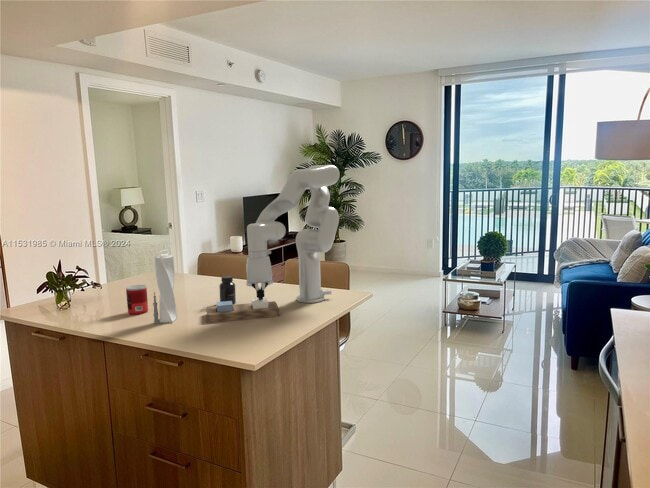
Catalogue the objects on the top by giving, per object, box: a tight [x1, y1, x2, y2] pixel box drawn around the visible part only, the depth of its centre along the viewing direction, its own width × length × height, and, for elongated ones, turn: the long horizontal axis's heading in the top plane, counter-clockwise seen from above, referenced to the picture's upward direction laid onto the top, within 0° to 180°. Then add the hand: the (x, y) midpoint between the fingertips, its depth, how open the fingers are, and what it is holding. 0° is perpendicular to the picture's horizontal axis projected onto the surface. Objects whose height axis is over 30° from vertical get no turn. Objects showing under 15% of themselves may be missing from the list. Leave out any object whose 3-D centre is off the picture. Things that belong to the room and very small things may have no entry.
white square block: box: [251, 297, 269, 309], centre depth 193 cm, size 6×6×3 cm
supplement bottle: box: [218, 275, 237, 305], centre depth 209 cm, size 7×7×12 cm
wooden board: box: [206, 301, 281, 324], centre depth 192 cm, size 28×12×3 cm, turn 104°
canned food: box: [125, 284, 149, 316], centre depth 199 cm, size 8×8×11 cm
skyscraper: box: [152, 249, 178, 325], centre depth 186 cm, size 8×8×28 cm
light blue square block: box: [216, 301, 234, 312], centre depth 190 cm, size 6×6×3 cm
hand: (260, 298), depth 193 cm, fingers closed
